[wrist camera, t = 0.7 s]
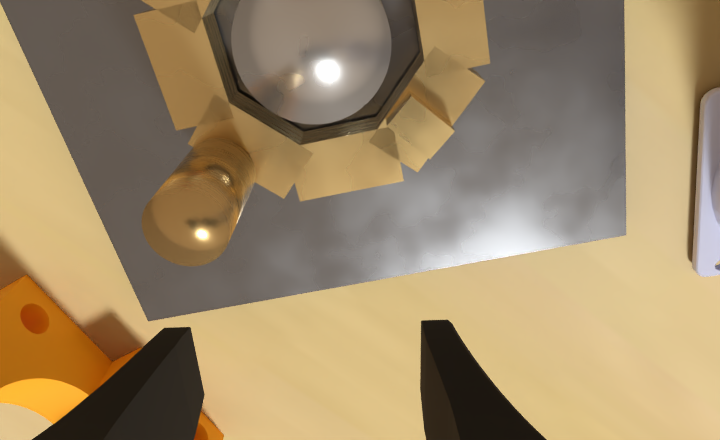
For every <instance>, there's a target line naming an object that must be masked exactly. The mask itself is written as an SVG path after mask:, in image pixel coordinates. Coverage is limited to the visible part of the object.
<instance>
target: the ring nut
mask: <svg viewBox="0 0 720 440" xmlns="http://www.w3.org/2000/svg"><path fill="white" fill-rule="evenodd" d="M142 1H143V2H145V3H146V4H148V5H150V6H151V7H153V8H154V9H151V10H147V11H144V12H141V13H138V14H135V15H134V18H135V21H136V23H137V26H138V29H139V32H140V34H141V37H142V40H143V42H144V45H145V48H146V50H147V53H148V56H149V59H150V61H151V64H152V67H153V69H154V72H155V75H156V77H157V80H158V83H159V86H160V88H161V91H162V94H163V96H164V99H165V102H166V104H167V107H168V110H169V113H170V115H171V118H172V121H173V123H174V126H175V129H176V130H181V129H186V128H191V127H195V126H197V127H196V129H195V131H194V133H193V135H192V137H191V139H190V141H189V142H188V144H189V145H190V146H192V147H193V148H192V149H191V151H190V152H189V153H188V154H187V155H186V157H185V158H184V159H183V160H182V162H181V163H180V164H179V165H178V166H177V168H176V169H175V170H174V171H173V173H172V174H171V175H170V176H169V178H168V179H167V180H166V181H165V182H164V184H163V185H162V186H161V187H160V189H159V190H158V191H157V192H156V193H155V195H154V196H153V197H152V198H151V200H150V201H149V202H148V203H147V205H146V207H145V209H144V211H143V214H142V221H141V222H142V230H143V234H144V236H145V238H146V240H147V242H148V244H149V245H150V247H151V248H152V249H153V250H154V251H155V252H156V253H157V254H158V255H160V256H161V257H163V258H164V259H166V260H168V261H170V262H172V263H175V264H178V265H183V266H201V265H205V264H207V263H210V262H212V261H214V260H215V259H217V258H218V257H219V256H220V255H221V254H222V253H223V252H224V250H225V249H226V247H227V245H228V242H229V240H230V238H231V236H232V233H233V231H234V229H235V227H236V224H237V222H238V220H239V218H240V215H241V213H242V211H243V209H244V206H245V204H246V202H247V199H248V197H249V195H250V193H251V190H252V188H253V186H254V183H257V184H259V185H261V186H262V187H264V188H266V189H268V190H269V191H271V192H273V193H275V194H276V195H278V196H280V197H282V198H283V199H284V198H285V197H286V195H287V194H288V192H289V190H290V189H291V187H292V186H293V184H294V183H295V186H296V189H297V193H298V196H299V200H300V201H305V200H310V199H315V198H320V197H326V196H331V195H336V194H341V193H346V192H351V191H356V190H361V189H366V188H371V187H376V186H382V185H387V184H392V183H397V182H402V181H404V179H403V173H402V168H401V162H402V163H403V164H405V165H406V166H408V167H410V168H411V169H413V170H414V171H416V172H418V171H419V170H420V169H421V167H422V166H423V165H424V163H425V162H426V161H427V159H428V158H429V159H431V158H432V157H433V155H434V154H435V153H436V152H437V151H438V150H439V149H440V148H441V146H442V145H443V144H444V143H445V142H446V141H447V140H448V138H449V137H450V136H451V135H452V134H453V133H454V132H455V130H454V128H453V124H454V123H455V121H456V120H457V119H458V117H459V116H460V115H461V113H462V112H463V111H464V109H465V108H466V107H467V105H468V104H469V103H470V101H471V100H472V99H473V97H474V96H475V94H476V93H477V92H478V90H479V89H480V88H481V86H482V85H483V84H484V82H485V80H484V79H483V78H482V77H481V76H480V75H479V73H478V72H477V71H475V70H474V69H473V68H472V67H476V66H481V65H486V64H490V57H489V48H488V39H487V30H486V21H485V12H484V3H483V0H412V6H413V12H414V18H415V24H416V30H417V36H418V42H419V48H420V53H419V54H418V56H417V57H416V59H415V60H414V62H413V63H412V65H411V66H410V68H409V69H408V71H407V72H406V74H405V75H404V77H403V78H402V80H401V81H400V83H399V84H398V85H397V87H396V88H395V90H394V91H393V93H392V94H391V96H390V97H389V99H388V100H387V102H386V103H385V105H384V106H383V108H382V109H381V111H380V112H379V114H378V115H377V117H372V118H367V119H363V120H358V121H353V122H348V123H343V124H339V125H334V126H329V127H324V128H319V129H315V130H310V131H305V132H304V131H302V130H300V129H299V128H297V127H295V126H294V125H292V124H290V123H289V122H287V121H285V120H284V119H282V118H281V117H279V116H277V115H276V114H274V113H272V112H271V111H269V110H267V109H266V108H264V107H262V106H261V105H259V104H258V103H256V102H254V101H253V100H251V99H249V98H248V97H246V96H244V95H243V94H241V93H239V92H238V90H237V87H236V83H235V80H234V77H233V74H232V70H231V67H230V64H229V61H228V58H227V54H226V51H225V48H224V45H223V42H222V38H221V35H220V32H219V29H218V25H217V22H216V19H215V16H214V11H215V9H216V7H217V5H218V3H219V1H220V0H142Z"/></svg>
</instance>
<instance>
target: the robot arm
mask: <svg viewBox="0 0 720 440" xmlns="http://www.w3.org/2000/svg"><path fill="white" fill-rule="evenodd" d="M718 261H720V87H718V88H714V89H712V90H709V91H708V92H707V93H706V94H705V95H704V96H703V98H702V100H701V104H700V121H699V140H698V160H697V180H696V199H695V219H694V239H693V258H692V267H693V269H694V271H695V272H696V273H697V274H698V275H700V276H702V277H709V276H715V275H720V264H719V265H716V263H717V262H718ZM715 265H716V266H715ZM420 390H421V401H422V411H423V421H424V430H425V435H426V440H546V439H545V438H544V437H543V436H542V435H541V434H540V433H539V432H538V431H537V430H536V429H535V428H534V427H533V426H532V425H531V424H530V423H529V422H528V421H527V420H526V419H525V418H524V417H523V416H522V415H521V414H520V413H519V412H518V411H517V410H516V409H515V408H514V407H513V405H512V404H511V403H510V402H509V401H508V400H507V399H506V398H505V396H504V395H503V394H502V393H501V392H500V391H499V389H498V388H497V387H496V386H495V385H494V383H493V382H492V381H491V380H490V378H489V377H488V376H487V374H486V373H485V372H484V371H483V369H482V368H481V367H480V365H479V364H478V363H477V361H476V360H475V359H474V357H473V356H472V354H471V353H470V351H469V350H468V349H467V347H466V346H465V344H464V343H463V341H462V339H461V338H460V336H459V335H458V333H457V331H456V330H455V328H454V326H453V324H452V323H451V322H450V321H449V320H426V321H421V381H420ZM203 399H204V390H203V385H202V381H201V376H200V371H199V366H198V361H197V357H196V352H195V347H194V342H193V337H192V333H191V328H190V327H179V328H164V329H163V330H162V331H160V332H159V333H158V334H157V335H156V336H155V337H154V338H153V339H151V340H150V341H149V342H148V343H147V344H146V345H145V346H144V347H143V348H142V349H141V350H140V351H139V352H137V353H136V354H135V355H134V356H133V357H132V358H131V359H130V360H129V361H128V362H127V363H126V364H124V365H123V366H122V367H121V368H120V369H119V370H118V371H117V372H116V373H114V374H113V375H112V376H111V377H110V378H109V379H108V380H107V381H106V382H104V383H103V384H102V385H101V386H100V387H99V388H97V389H96V390H95V391H94V392H93V393H91V394H90V395H89V396H88V397H87V398H85V399H84V400H83V401H82V402H81V403H79V404H78V405H77V406H76V407H75V408H73V409H72V410H71V411H70V412H68V413H67V414H66V415H65V416H63V417H62V418H61V419H60V420H58V421H57V422H56V423H54V424H53V425H52V426H50V427H49V428H48V429H46V430H45V431H44V432H42V433H41V434H39V435H38V436H36V437H35V438H34V439H32V440H194V437H195V434H196V430H197V426H198V422H199V418H200V413H201V408H202V403H203Z"/></svg>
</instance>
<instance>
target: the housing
mask: <svg viewBox="0 0 720 440" xmlns="http://www.w3.org/2000/svg"><path fill="white" fill-rule="evenodd" d="M0 3H1V5H2V7H3V9H4V11H5V13H6V16H7V18H8V20H9V22H10V24H11V26H12V29H13V31H14V33H15V35H16V37H17V39H18V41H19V44H20V46H21V48H22V50H23V52H24V54H25V57H26V59H27V61H28V63H29V65H30V67H31V69H32V72H33V74H34V76H35V78H36V80H37V82H38V85H39V87H40V89H41V91H42V93H43V95H44V98H45V100H46V102H47V104H48V106H49V108H50V110H51V113H52V115H53V117H54V119H55V121H56V123H57V126H58V128H59V130H60V132H61V134H62V136H63V138H64V141H65V143H66V145H67V147H68V149H69V151H70V154H71V156H72V158H73V160H74V162H75V164H76V166H77V169H78V171H79V173H80V175H81V177H82V179H83V182H84V184H85V186H86V188H87V190H88V192H89V195H90V197H91V199H92V201H93V203H94V205H95V207H96V210H97V212H98V214H99V216H100V218H101V220H102V223H103V225H104V227H105V229H106V231H107V233H108V235H109V238H110V240H111V242H112V244H113V246H114V248H115V251H116V253H117V255H118V257H119V259H120V261H121V263H122V266H123V268H124V270H125V272H126V274H127V276H128V279H129V281H130V283H131V285H132V287H133V289H134V292H135V294H136V296H137V298H138V300H139V302H140V304H141V307H142V309H143V311H144V313H145V315H146V317H147V320H148V321H153V320H158V319H164V318H169V317H175V316H180V315H186V314H191V313H197V312H202V311H208V310H214V309H219V308H225V307H230V306H236V305H241V304H247V303H252V302H258V301H263V300H269V299H275V298H280V297H286V296H291V295H297V294H302V293H308V292H313V291H319V290H324V289H330V288H336V287H341V286H347V285H352V284H358V283H363V282H369V281H374V280H380V279H385V278H391V277H397V276H402V275H408V274H413V273H419V272H424V271H430V270H435V269H441V268H446V267H452V266H458V265H463V264H469V263H474V262H480V261H485V260H491V259H496V258H502V257H507V256H513V255H519V254H524V253H530V252H535V251H541V250H546V249H552V248H557V247H563V246H568V245H574V244H580V243H585V242H591V241H596V240H602V239H607V238H613V237H618V236H624V235H626V160H625V44H624V0H483V3H484V12H485V21H486V30H487V39H488V48H489V57H490V64H486V65H481V66H476V67H472V68H473V69H474V70H475V71H477V72H478V73H479V75H480V76H481V77H482V78H483V79H484V80H485V82H484V84H483V85H482V86H481V88H480V89H479V90H478V92H477V93H476V94H475V96H474V97H473V99H472V100H471V101H470V103H469V104H468V105H467V107H466V108H465V109H464V111H463V112H462V113H461V115H460V116H459V117H458V119H457V120H456V121H455V123H454V124H453V128H454V130H455V132H454V133H453V134H452V135H451V136H450V137H449V138H448V140H447V141H446V142H445V143H444V144H443V145H442V146H441V148H440V149H439V150H438V151H437V152H436V153H435V154H434V155H433V157H432V158H431V159H429V158H428V159H427V161H426V162H425V163H424V165H423V166H422V167H421V169H420V170H419V171H418V172H416V171H414V170H413V169H411V168H410V167H408V166H406V165H405V164H403V163H402V162H401V168H402V173H403V179H404V181H402V182H397V183H392V184H387V185H382V186H376V187H371V188H366V189H361V190H356V191H351V192H346V193H341V194H336V195H331V196H326V197H320V198H315V199H310V200H305V201H300V200H299V196H298V193H297V189H296V186H295V183H294V184H293V186H292V187H291V189H290V190H289V192H288V194H287V195H286V197H285V198H284V199H283V198H282V197H280V196H278V195H276V194H275V193H273V192H271V191H269V190H268V189H266V188H264V187H262V186H261V185H259V184H257V183H254V186H253V188H252V190H251V193H250V195H249V197H248V199H247V202H246V204H245V206H244V209H243V211H242V213H241V215H240V218H239V220H238V222H237V224H236V227H235V229H234V231H233V233H232V236H231V238H230V240H229V242H228V245H227V247H226V249H225V250H224V252H223V253H222V254H221V255H220V256H219V257H218V258H217V259H215V260H214V261H212V262H210V263H207V264H205V265H201V266H183V265H178V264H175V263H172V262H170V261H168V260H166V259H164V258H163V257H161V256H160V255H158V254H157V253H156V252H155V251H154V250H153V249H152V248H151V247H150V245H149V244H148V242H147V240H146V238H145V236H144V234H143V230H142V222H141V221H142V214H143V211H144V209H145V207H146V205H147V203H148V202H149V201H150V200H151V198H152V197H153V196H154V195H155V193H156V192H157V191H158V190H159V189H160V187H161V186H162V185H163V184H164V182H165V181H166V180H167V179H168V178H169V176H170V175H171V174H172V173H173V171H174V170H175V169H176V168H177V166H178V165H179V164H180V163H181V162H182V160H183V159H184V158H185V157H186V155H187V154H188V153H189V152H190V151H191V149H192V148H193V147H192V146H190V145H189V144H188V142H189V141H190V139H191V137H192V135H193V133H194V131H195V129H196V127H197V126H195V127H191V128H186V129H181V130H176V129H175V126H174V123H173V121H172V118H171V115H170V113H169V110H168V107H167V104H166V102H165V99H164V96H163V94H162V91H161V88H160V86H159V83H158V80H157V77H156V75H155V72H154V69H153V67H152V64H151V61H150V59H149V56H148V53H147V50H146V48H145V45H144V42H143V40H142V37H141V34H140V32H139V29H138V26H137V23H136V21H135V18H134V15H135V14H138V13H141V12H144V11H147V10H151V9H154V8H153V7H151V6H150V5H148V4H146V3H145V2H143V1H142V0H0ZM214 16H215V19H216V22H217V25H218V29H219V32H220V35H221V38H222V42H223V45H224V48H225V51H226V54H227V58H228V61H229V64H230V67H231V70H232V74H233V77H234V80H235V83H236V87H237V90H238V92H239V93H241V94H243V95H244V96H246V97H248V98H249V99H251V100H253V101H254V102H256V103H258V104H259V105H261V106H262V107H264V108H266V109H267V110H269V111H271V112H272V113H274V114H276V115H277V116H279V117H281V118H282V119H284V120H285V121H287V122H289V123H290V124H292V125H294V126H295V127H297V128H299V129H300V130H302V131H304V132H305V131H310V130H315V129H319V128H324V127H329V126H334V125H339V124H343V123H348V122H353V121H358V120H363V119H367V118H372V117H377V115H378V114H379V112H380V111H381V109H382V108H383V106H384V105H385V103H386V102H387V100H388V99H389V97H390V96H391V94H392V93H393V91H394V90H395V88H396V87H397V85H398V84H399V83H400V81H401V80H402V78H403V77H404V75H405V74H406V72H407V71H408V69H409V68H410V66H411V65H412V63H413V62H414V60H415V59H416V57H417V56H418V54H419V53H420V48H419V42H418V36H417V30H416V24H415V18H414V12H413V6H412V0H220V1H219V3H218V5H217V7H216V9H215V11H214Z"/></svg>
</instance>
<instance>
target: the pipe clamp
mask: <svg viewBox="0 0 720 440" xmlns="http://www.w3.org/2000/svg"><path fill="white" fill-rule="evenodd" d="M141 349H142V347H141V348H139V349H137V350H135V351H133V352H131V353H129V354H127V355H125V356H123V357H121V358H119V359H117V360H115V361H113V362H112V361H111V360H110V359H109V358H108V357H107V356H106V355H105V354H104V353H103V352H102V351H101V350H100V349H99V348H98V347H97V346H96V345H95V344H94V343H93V342H92V341H91V340H90V339H89V338H88V337H87V336H86V335H85V334H84V333H83V332H82V331H81V330H80V329H79V327H78V326H77V325H76V324H75V323H74V322H73V321H72V320H71V319H70V318H69V317H68V316H67V315H66V314H65V313H64V312H63V311H62V310H61V309H60V308H59V307H58V306H57V305H56V304H55V303H54V302H53V301H52V300H51V299H50V298H49V297H48V296H47V295H46V294H45V293H44V292H43V291H42V290H41V289H40V288H39V287H38V286H37V285H36V283H35V282H34V281H33V280H32V279H31V278H30V277H29V276H28V275H25V276H23V277H21V278H20V279H18V280H16V281H15V282H13V283H11V284H9V285H8V286H6V287H4V288H2V289H1V290H0V403H10V404H15V405H19V406H22V407H25V408H28V409H30V410H32V411H35V412H37V413H38V414H40V415H42V416H44V417H45V418H46V419H48V420H49V421H50V422H52V423H53V424H54V423H56V422H57V421H58V420H60V419H61V418H62V417H63V416H65V415H66V414H67V413H68V412H70V411H71V410H72V409H73V408H75V407H76V406H77V405H78V404H79V403H81V402H82V401H83V400H84V399H85V398H87V397H88V396H89V395H90V394H91V393H93V392H94V391H95V390H96V389H97V388H99V387H100V386H101V385H102V384H103V383H104V382H106V381H107V380H108V379H109V378H110V377H111V376H112V375H113V374H114V373H116V372H117V371H118V370H119V369H120V368H121V367H122V366H123V365H124V364H126V363H127V362H128V361H129V360H130V359H131V358H132V357H133V356H134V355H135V354H136V353H137V352H139V351H140V350H141ZM223 437H224V435H223V434H222V433H221V432H220V431H219V430H218V429H217V428H216V426H215V425H214V424H213V423H212V422H211V421H210V420H209V419H208V418H207V417H206V416H205V415H204V414H203V413H202V411H201V413H200V418H199V422H198V426H197V430H196V434H195V437H194V440H223Z"/></svg>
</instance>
